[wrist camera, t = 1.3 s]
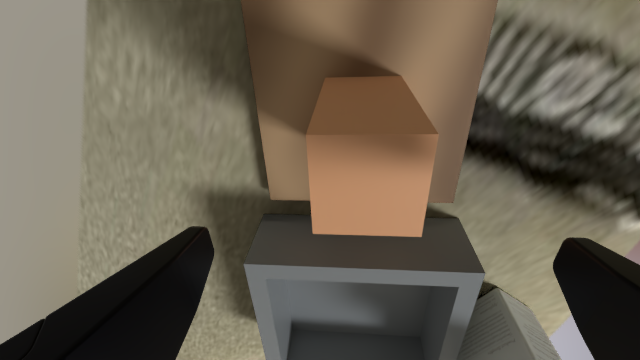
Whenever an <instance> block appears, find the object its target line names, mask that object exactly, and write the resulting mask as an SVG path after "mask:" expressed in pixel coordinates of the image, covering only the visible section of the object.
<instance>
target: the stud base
mask: <svg viewBox="0 0 640 360" xmlns="http://www.w3.org/2000/svg"><path fill="white" fill-rule="evenodd" d="M497 2H498V0H241V5H242V12H243V19H244V25H245V32H246V39H247V45H248V52H249V59H250V65H251V72H252V79H253V85H254V92H255V99H256V105H257V112H258V119H259V125H260V132H261V139H262V145H263V152H264V159H265V165H266V172H267V179H268V185H269V192H270V199H271V200H310V188H309V174H308V159H307V145H306V133H307V130H308V127H309V124H310V121H311V118H312V115H313V112H314V109H315V106H316V103H317V100H318V97H319V94H320V92H321V89H322V86H323V83H324V80H325V78H333V77H377V76H402V78H403V79H404V81H405V82H406V84H407V85H408V87H409V89H410V90H411V92H412V93H413V95H414V96H415V98H416V99H417V101H418V103H419V104H420V106H421V107H422V109H423V110H424V112H425V113H426V115H427V117H428V118H429V120H430V121H431V123H432V124H433V126H434V127H435V129H436V131H437V132H438V134H439V136H438V142H437V148H436V154H435V160H434V166H433V172H432V178H431V184H430V190H429V196H428V202H427V203H453V201H454V197H455V192H456V188H457V183H458V178H459V174H460V169H461V165H462V160H463V156H464V151H465V147H466V142H467V138H468V133H469V129H470V124H471V120H472V115H473V111H474V106H475V101H476V97H477V92H478V88H479V83H480V79H481V74H482V70H483V65H484V61H485V56H486V52H487V47H488V43H489V38H490V33H491V29H492V24H493V20H494V15H495V11H496V6H497Z"/></svg>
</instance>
